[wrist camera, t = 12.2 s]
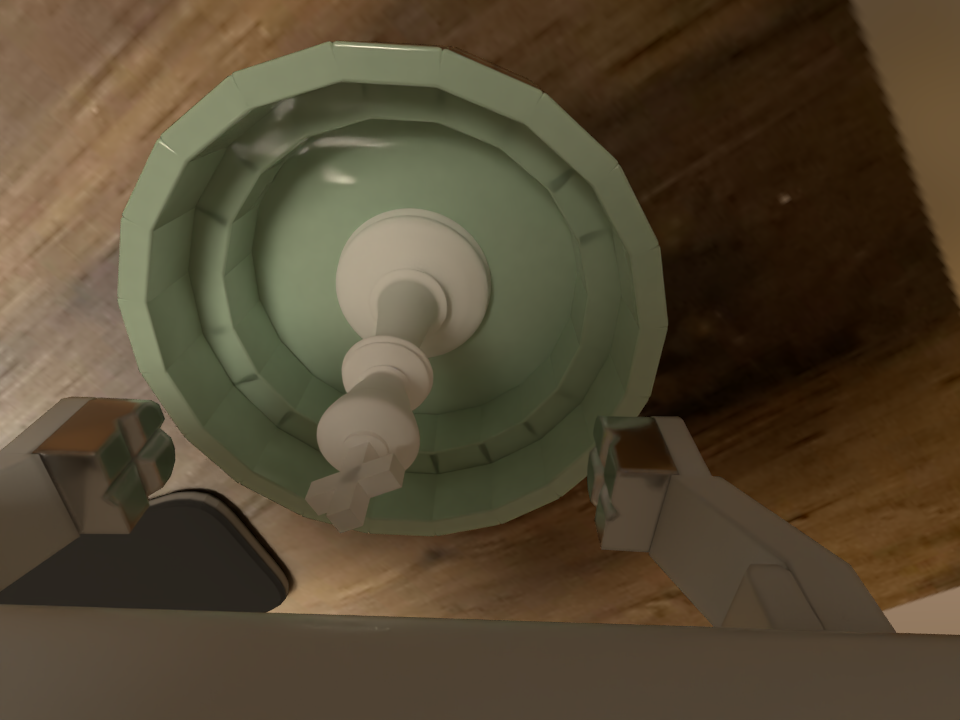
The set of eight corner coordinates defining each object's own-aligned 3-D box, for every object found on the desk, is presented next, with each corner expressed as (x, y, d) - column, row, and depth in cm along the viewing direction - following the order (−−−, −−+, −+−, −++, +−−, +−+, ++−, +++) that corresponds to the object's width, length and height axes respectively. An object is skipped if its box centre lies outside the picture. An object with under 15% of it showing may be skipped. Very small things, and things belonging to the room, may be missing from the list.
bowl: (354, -87, 13) (290, -150, 9) (709, 248, 17) (782, 316, 13) (144, 303, 19) (41, 382, 14) (454, 488, 23) (447, 592, 18)
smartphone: (-79, 578, 24) (200, 493, 22) (-62, 562, 25) (209, 478, 22) (45, 670, 28) (298, 607, 25) (56, 653, 29) (303, 591, 26)
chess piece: (307, 246, 17) (120, 461, 8) (450, 180, 16) (407, 345, 7) (385, 370, 19) (302, 640, 10) (514, 319, 18) (541, 573, 9)
